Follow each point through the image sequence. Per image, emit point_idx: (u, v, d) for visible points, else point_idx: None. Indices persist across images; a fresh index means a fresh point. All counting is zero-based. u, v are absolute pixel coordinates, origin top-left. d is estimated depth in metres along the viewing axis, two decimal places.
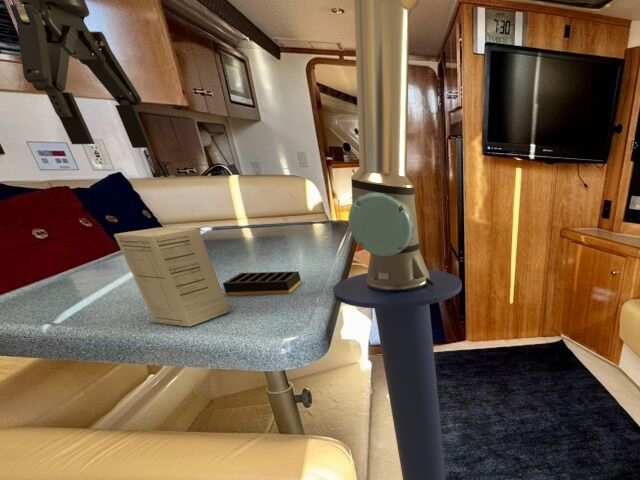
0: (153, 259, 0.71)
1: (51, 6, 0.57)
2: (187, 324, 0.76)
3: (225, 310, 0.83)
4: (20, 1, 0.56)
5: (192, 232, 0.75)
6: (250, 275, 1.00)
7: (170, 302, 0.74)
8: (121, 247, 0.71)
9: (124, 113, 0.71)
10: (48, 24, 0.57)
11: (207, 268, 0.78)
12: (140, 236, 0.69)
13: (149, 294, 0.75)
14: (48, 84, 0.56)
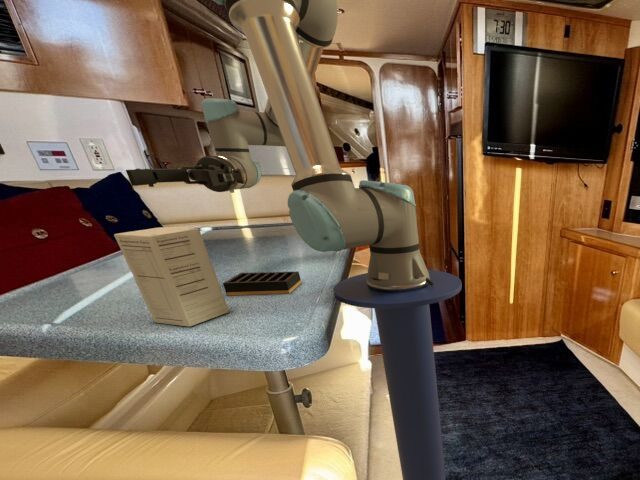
0: (153, 259, 0.71)
1: None
2: (187, 324, 0.76)
3: (225, 310, 0.83)
4: (205, 186, 0.93)
5: (192, 232, 0.75)
6: (250, 275, 1.00)
7: (170, 302, 0.74)
8: (121, 247, 0.71)
9: None
10: (187, 171, 0.89)
11: (207, 268, 0.78)
12: (140, 236, 0.69)
13: (149, 294, 0.75)
14: None
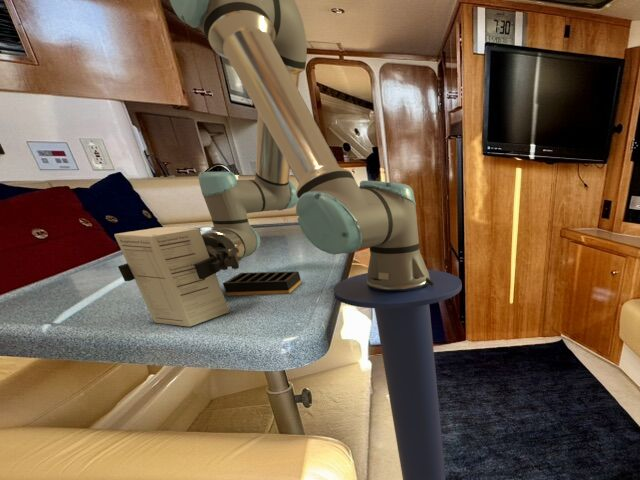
0: (153, 259, 0.71)
1: None
2: (187, 324, 0.76)
3: (225, 310, 0.83)
4: None
5: (192, 232, 0.75)
6: (250, 275, 1.00)
7: (171, 302, 0.74)
8: (121, 247, 0.71)
9: None
10: None
11: None
12: (141, 236, 0.69)
13: (149, 294, 0.75)
14: None
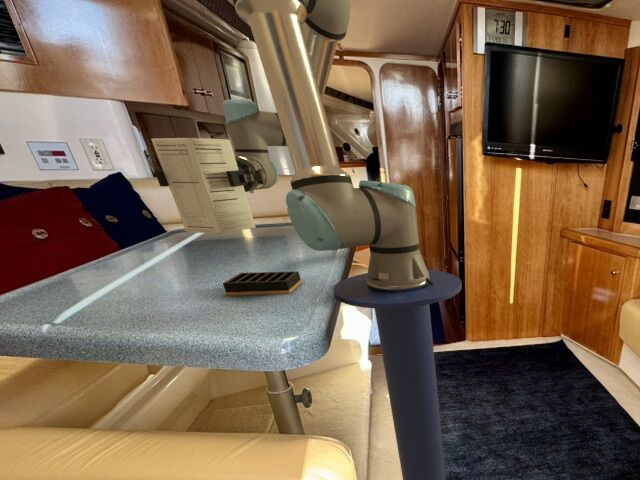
0: (189, 163, 0.75)
1: None
2: (219, 231, 0.80)
3: (252, 225, 0.87)
4: None
5: (224, 142, 0.79)
6: (250, 275, 1.00)
7: (203, 208, 0.78)
8: (158, 152, 0.75)
9: None
10: None
11: None
12: (177, 139, 0.73)
13: (183, 201, 0.79)
14: None
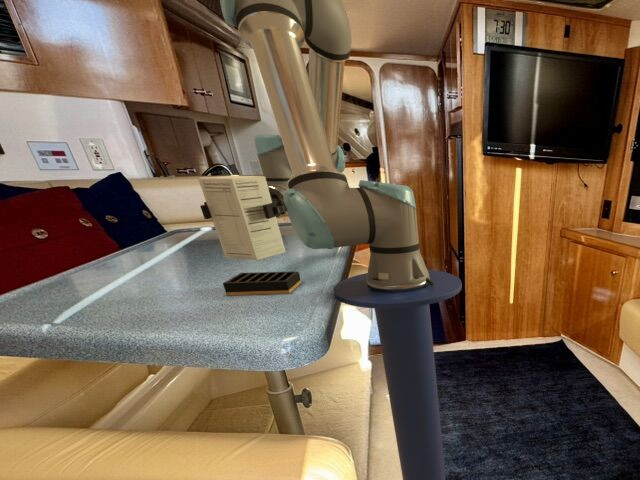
0: (231, 199, 0.84)
1: None
2: (255, 258, 0.90)
3: (282, 250, 0.97)
4: None
5: (260, 179, 0.88)
6: (250, 275, 1.00)
7: (242, 237, 0.88)
8: (203, 189, 0.85)
9: None
10: None
11: None
12: (221, 179, 0.83)
13: (223, 231, 0.89)
14: None
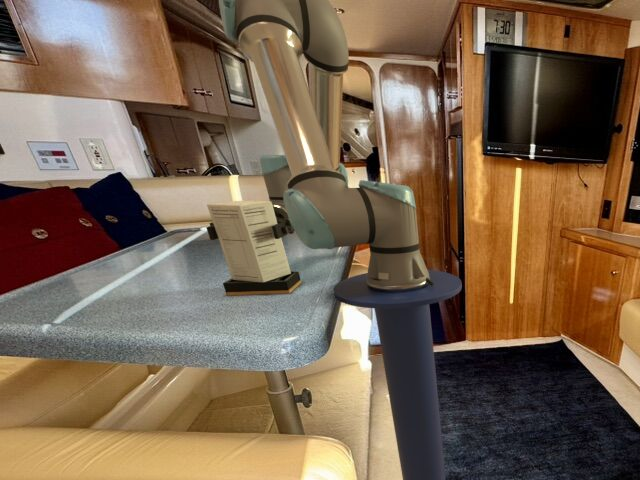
0: (238, 225, 0.87)
1: None
2: (261, 280, 0.93)
3: (288, 271, 0.99)
4: None
5: (267, 204, 0.91)
6: None
7: (249, 261, 0.91)
8: (212, 215, 0.88)
9: None
10: None
11: None
12: (230, 205, 0.85)
13: (231, 255, 0.91)
14: (213, 225, 0.94)
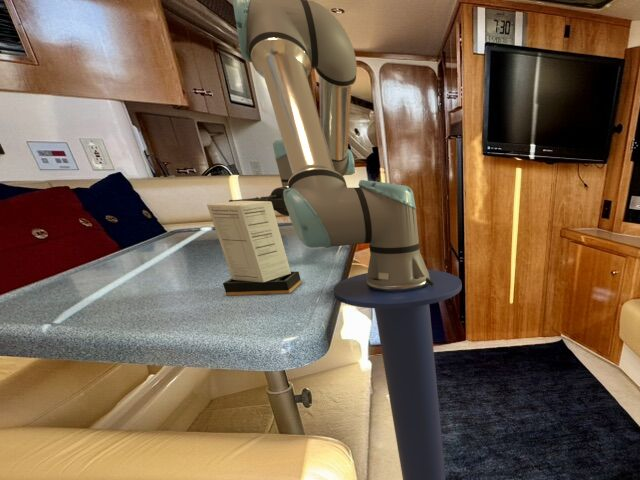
0: (238, 225, 0.87)
1: None
2: (261, 280, 0.93)
3: (288, 271, 0.99)
4: None
5: (267, 204, 0.91)
6: None
7: (249, 261, 0.91)
8: (212, 215, 0.88)
9: None
10: None
11: (276, 235, 0.94)
12: (230, 205, 0.85)
13: (231, 255, 0.91)
14: None
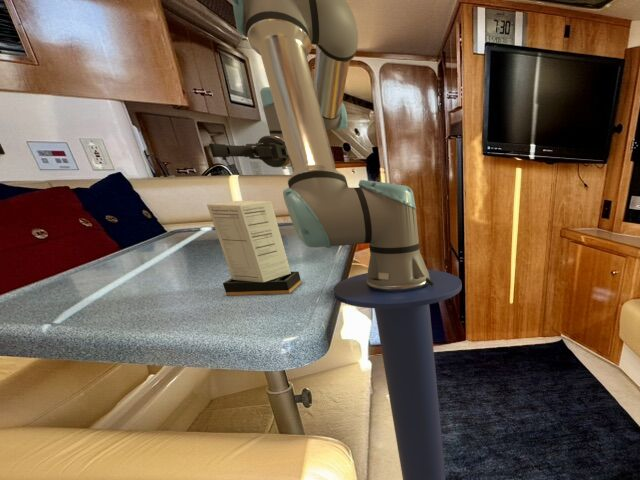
0: (238, 225, 0.87)
1: None
2: (261, 280, 0.93)
3: (288, 271, 0.99)
4: (263, 161, 1.09)
5: (267, 204, 0.91)
6: None
7: (249, 261, 0.91)
8: (212, 215, 0.88)
9: None
10: None
11: (276, 235, 0.94)
12: (230, 205, 0.85)
13: (231, 255, 0.91)
14: None
